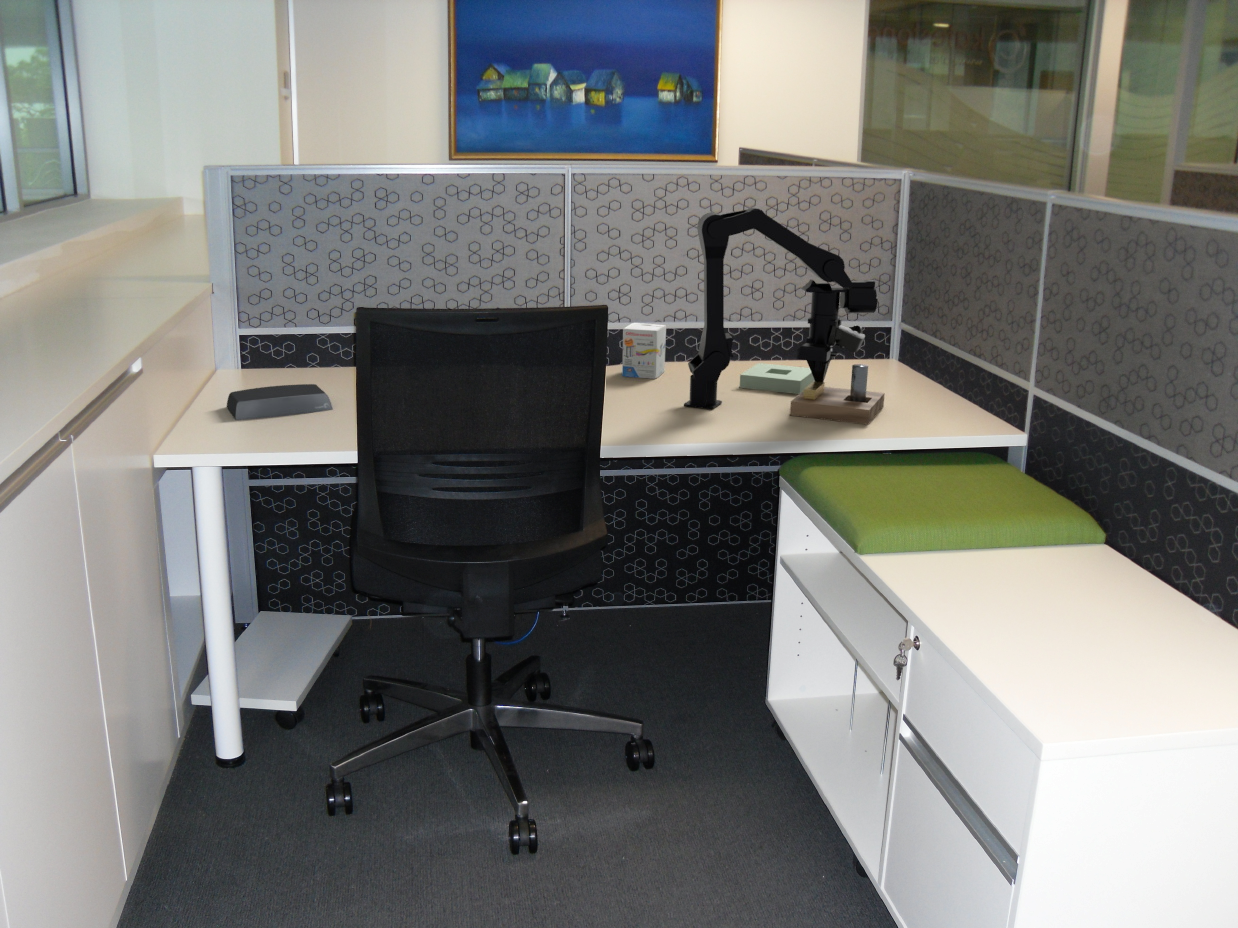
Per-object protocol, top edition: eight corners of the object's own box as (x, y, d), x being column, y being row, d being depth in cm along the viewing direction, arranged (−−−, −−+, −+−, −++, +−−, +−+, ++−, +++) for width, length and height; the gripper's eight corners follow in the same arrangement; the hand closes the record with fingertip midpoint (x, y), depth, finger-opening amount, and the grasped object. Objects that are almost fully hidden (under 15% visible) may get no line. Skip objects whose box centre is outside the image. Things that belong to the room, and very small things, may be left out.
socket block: (868, 424, 212) (869, 410, 211) (790, 415, 218) (790, 401, 217) (883, 406, 226) (884, 392, 225) (809, 398, 232) (810, 385, 231)
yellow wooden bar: (814, 399, 218) (815, 390, 217) (803, 398, 219) (803, 389, 218) (824, 391, 225) (824, 382, 224) (812, 390, 226) (813, 381, 225)
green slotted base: (799, 394, 236) (800, 380, 235) (739, 387, 241) (740, 374, 240) (815, 381, 248) (816, 368, 247) (757, 375, 253) (758, 363, 252)
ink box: (621, 376, 251) (621, 327, 247) (631, 369, 258) (631, 321, 255) (656, 379, 248) (657, 329, 245) (665, 372, 256) (666, 323, 253)
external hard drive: (334, 413, 218) (333, 393, 217) (236, 423, 210) (234, 403, 209) (320, 399, 229) (318, 380, 228) (226, 408, 221) (224, 389, 220)
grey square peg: (862, 415, 218) (866, 368, 215) (847, 414, 219) (850, 366, 217) (865, 412, 221) (869, 365, 218) (850, 410, 222) (854, 363, 219)
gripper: (853, 323, 210) (847, 400, 215) (872, 309, 226) (866, 381, 231) (798, 319, 214) (793, 394, 219) (820, 305, 230) (815, 375, 235)
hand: (819, 386), depth 226 cm, fingers closed
